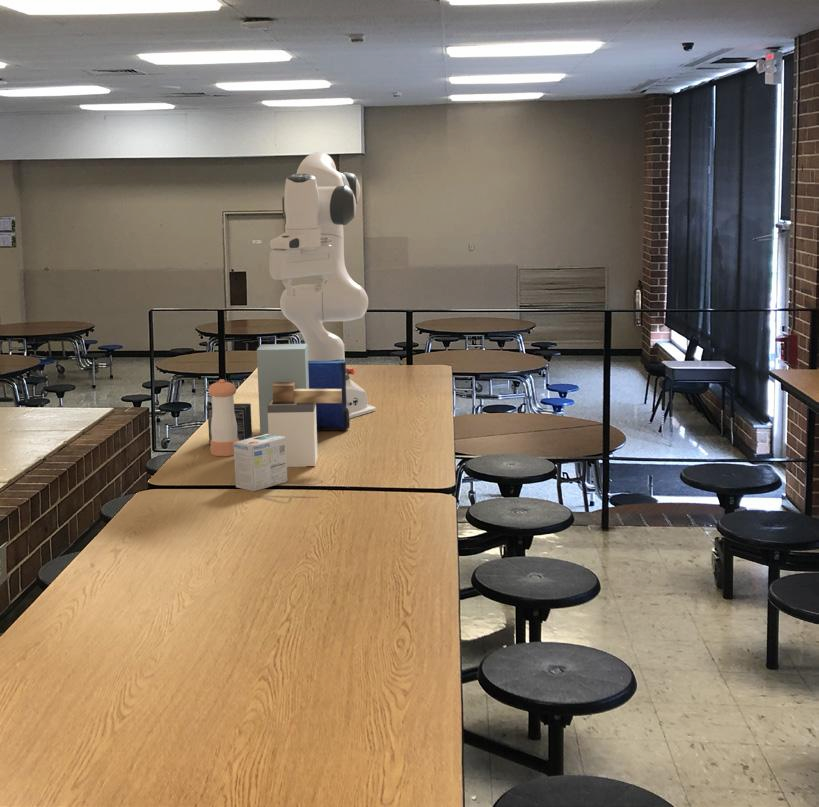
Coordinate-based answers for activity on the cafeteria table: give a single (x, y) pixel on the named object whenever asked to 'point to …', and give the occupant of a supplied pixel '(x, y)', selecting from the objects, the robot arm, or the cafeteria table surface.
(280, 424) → the card box
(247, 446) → the light bulb box
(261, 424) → the stand
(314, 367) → the blue fabric case
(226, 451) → the salt shaker
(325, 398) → the stamp
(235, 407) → the small box
